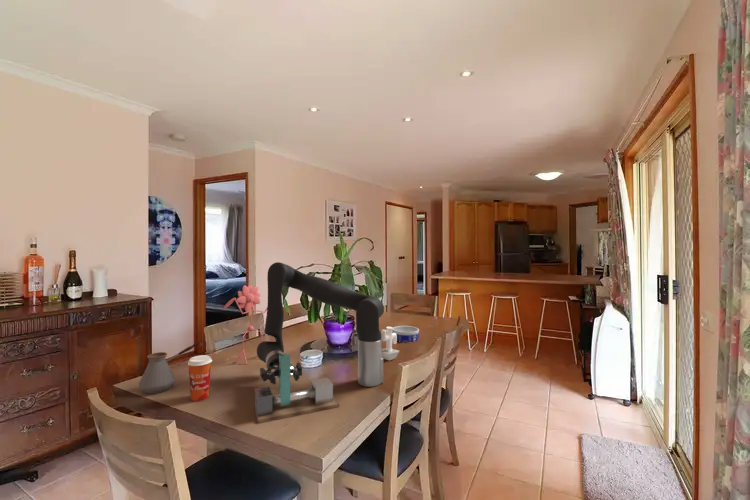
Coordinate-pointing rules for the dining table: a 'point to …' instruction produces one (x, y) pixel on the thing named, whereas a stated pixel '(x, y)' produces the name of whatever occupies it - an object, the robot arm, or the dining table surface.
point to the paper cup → (199, 377)
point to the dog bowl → (406, 333)
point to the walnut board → (296, 409)
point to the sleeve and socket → (320, 385)
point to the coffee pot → (159, 372)
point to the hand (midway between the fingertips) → (285, 379)
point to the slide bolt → (288, 385)
